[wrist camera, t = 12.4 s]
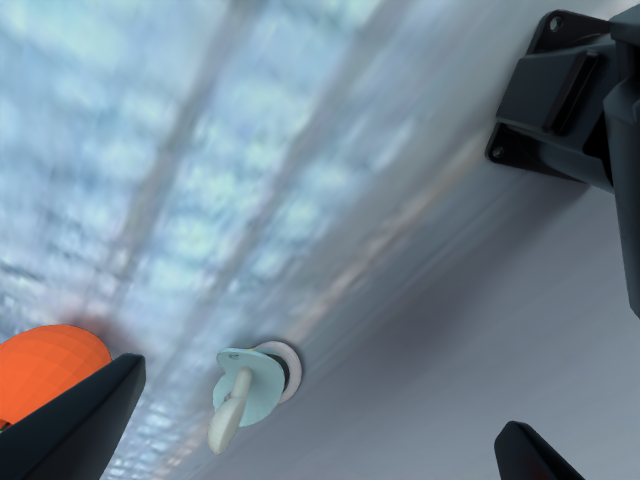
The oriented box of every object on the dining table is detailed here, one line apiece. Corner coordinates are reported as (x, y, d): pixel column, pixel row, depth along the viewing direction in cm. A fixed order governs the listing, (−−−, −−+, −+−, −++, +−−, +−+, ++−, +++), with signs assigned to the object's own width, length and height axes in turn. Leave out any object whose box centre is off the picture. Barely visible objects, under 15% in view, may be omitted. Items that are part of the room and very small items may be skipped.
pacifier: (310, 336, 23) (223, 322, 22) (306, 420, 17) (191, 404, 17) (293, 405, 26) (217, 394, 26) (285, 495, 21) (187, 483, 20)
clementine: (149, 385, 26) (88, 488, 19) (63, 386, 26) (-25, 486, 20) (116, 301, 22) (28, 393, 16) (17, 303, 22) (-108, 393, 16)
